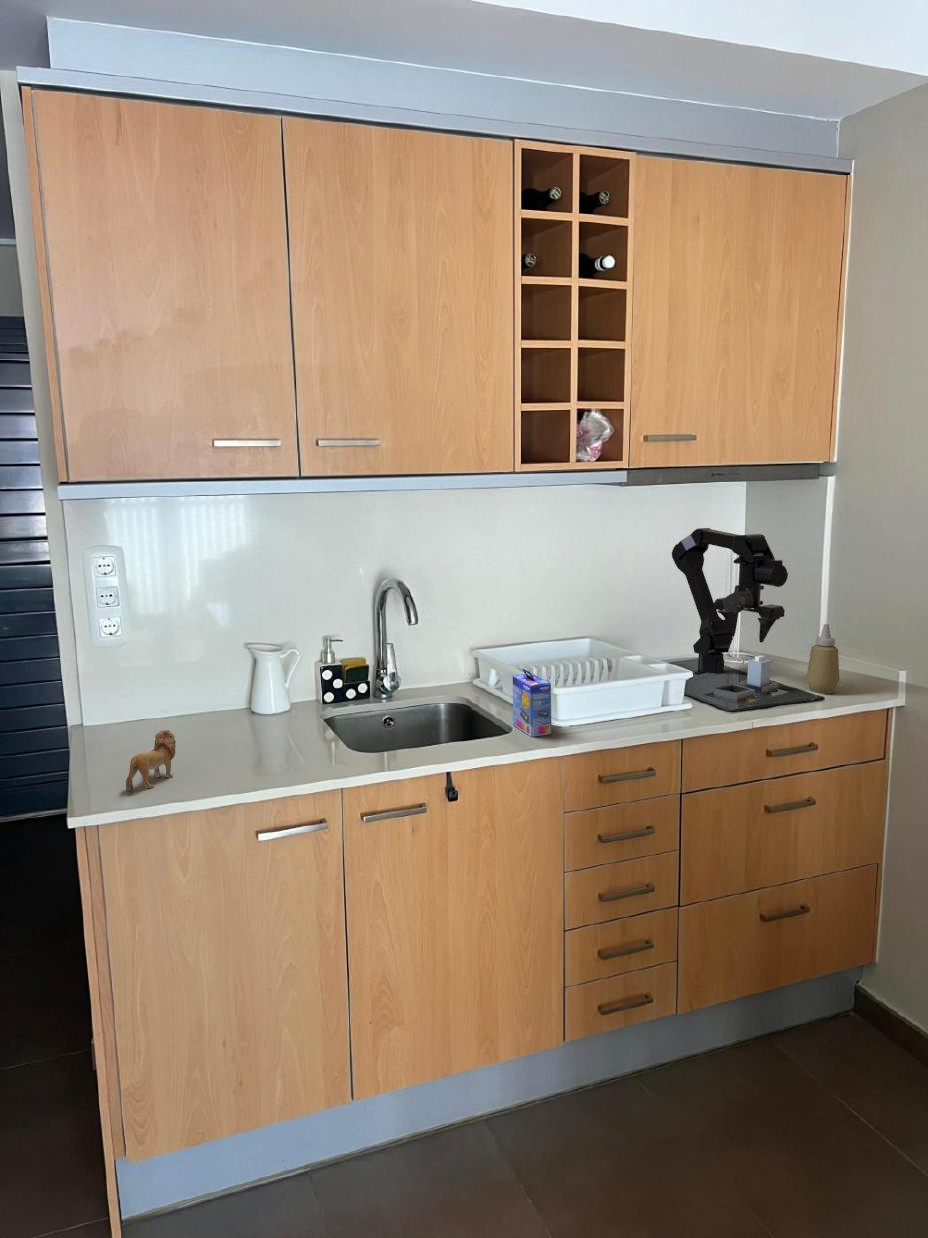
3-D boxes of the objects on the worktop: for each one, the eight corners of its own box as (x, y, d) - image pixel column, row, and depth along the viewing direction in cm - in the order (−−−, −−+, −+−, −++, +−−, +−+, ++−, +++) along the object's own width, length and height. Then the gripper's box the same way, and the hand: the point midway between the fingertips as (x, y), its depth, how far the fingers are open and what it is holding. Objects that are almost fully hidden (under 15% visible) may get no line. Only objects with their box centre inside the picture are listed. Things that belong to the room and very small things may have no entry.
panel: (702, 698, 241) (702, 687, 241) (750, 686, 253) (750, 675, 253) (741, 709, 232) (741, 697, 231) (789, 695, 244) (790, 684, 243)
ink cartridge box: (511, 725, 220) (511, 665, 217) (532, 722, 222) (532, 662, 219) (530, 737, 211) (531, 675, 208) (552, 734, 213) (553, 672, 210)
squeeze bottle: (798, 689, 249) (803, 623, 246) (821, 686, 253) (826, 620, 249) (822, 697, 242) (826, 628, 239) (845, 693, 246) (850, 626, 242)
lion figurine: (160, 768, 192) (157, 726, 190) (184, 770, 191) (181, 728, 189) (118, 795, 178) (115, 749, 176) (144, 797, 177) (140, 751, 175)
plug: (746, 689, 246) (748, 656, 244) (756, 687, 248) (757, 654, 247) (759, 692, 243) (761, 659, 241) (769, 690, 245) (771, 656, 243)
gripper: (701, 580, 252) (699, 637, 255) (761, 589, 237) (757, 649, 240) (728, 576, 259) (725, 632, 262) (787, 585, 244) (783, 643, 247)
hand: (746, 639), depth 252 cm, fingers open, 9 cm apart
